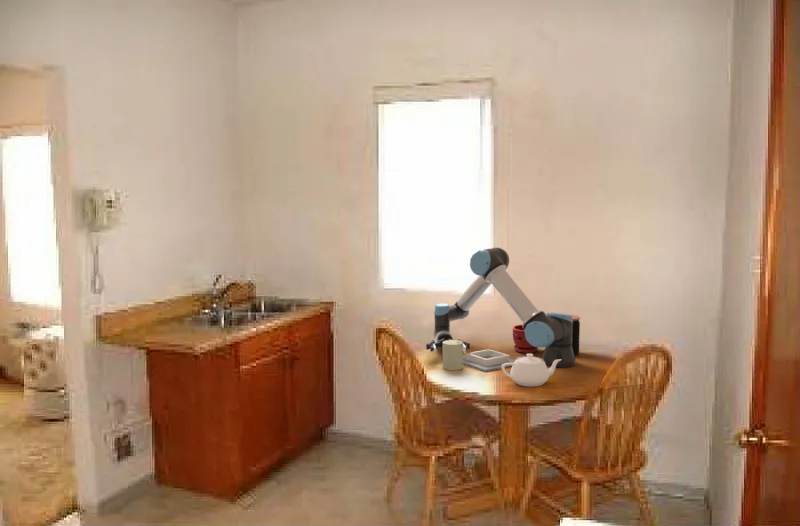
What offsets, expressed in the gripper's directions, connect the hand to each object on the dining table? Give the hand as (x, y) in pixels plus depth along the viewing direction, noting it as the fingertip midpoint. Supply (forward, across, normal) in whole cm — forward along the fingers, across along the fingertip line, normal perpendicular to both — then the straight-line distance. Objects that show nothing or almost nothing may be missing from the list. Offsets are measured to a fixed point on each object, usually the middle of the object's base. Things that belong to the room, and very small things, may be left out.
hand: (450, 350), depth 297 cm
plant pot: (-23, -40, -7) cm, 47 cm away
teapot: (+30, -30, -7) cm, 42 cm away
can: (+4, 0, -7) cm, 8 cm away
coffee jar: (-17, -59, -7) cm, 62 cm away
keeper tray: (-3, -18, -7) cm, 19 cm away
